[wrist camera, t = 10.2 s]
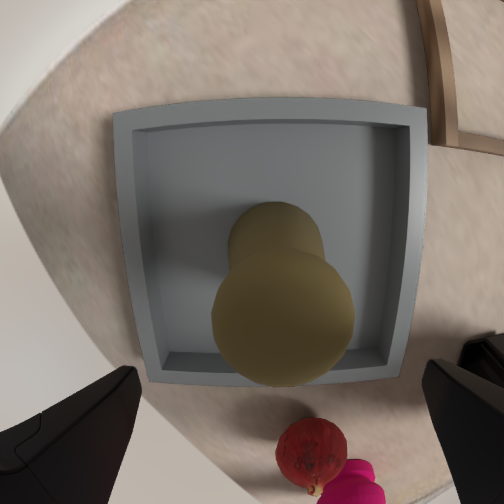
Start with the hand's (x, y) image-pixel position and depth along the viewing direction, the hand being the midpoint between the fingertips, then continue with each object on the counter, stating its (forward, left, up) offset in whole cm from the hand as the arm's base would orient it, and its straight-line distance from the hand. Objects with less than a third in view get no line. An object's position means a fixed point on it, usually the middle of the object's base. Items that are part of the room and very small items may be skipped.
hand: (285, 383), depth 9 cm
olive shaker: (+1, 0, -13) cm, 13 cm away
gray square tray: (0, 0, -13) cm, 13 cm away
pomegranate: (-16, -3, -13) cm, 21 cm away
